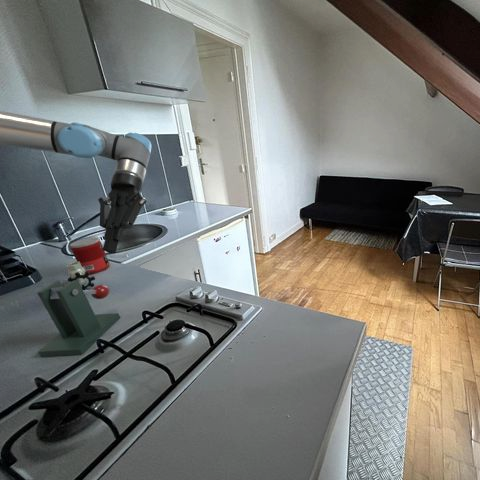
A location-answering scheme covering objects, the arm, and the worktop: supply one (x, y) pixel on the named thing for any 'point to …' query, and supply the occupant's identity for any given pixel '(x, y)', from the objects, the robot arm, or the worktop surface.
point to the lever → (86, 292)
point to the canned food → (90, 254)
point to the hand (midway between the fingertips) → (109, 251)
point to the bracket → (73, 320)
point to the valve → (79, 274)
